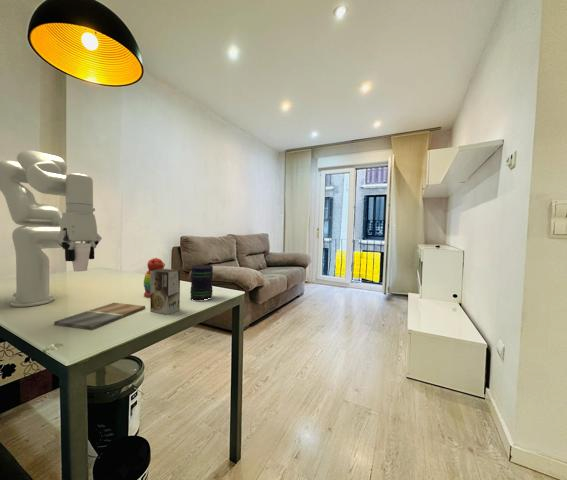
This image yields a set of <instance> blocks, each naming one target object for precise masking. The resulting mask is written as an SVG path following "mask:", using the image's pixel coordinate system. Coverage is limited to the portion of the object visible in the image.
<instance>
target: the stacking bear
mask: <svg viewBox="0 0 567 480" xmlns="http://www.w3.org/2000/svg"><path fill="white" fill-rule="evenodd" d="M146 265H147V268H148V270H147V271H146V272H145V274H144V278H143V287H144V293H143V296H144V297H145V298H148V299H150V271H152V270H157V269H162V268H163V269H165V266H166V264H165V263H164V262H163V261H162V259H160V258H157V257H154V258H151V259H149V260H148V261H147V264H146Z"/></svg>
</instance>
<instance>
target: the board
mask: <svg viewBox="0 0 567 480" xmlns="http://www.w3.org/2000/svg"><path fill="white" fill-rule="evenodd" d="M145 309H146V305H138V304H130V303H129V304H128V303H123V302H122V303H119V302H112V303H108V304H105V305H102V306H99V307H96V308H93V309H89V310H86V311H83V312H80V313H77V314H74V315H70V316H67V317H64V318H61V319H58V320H55V321H54V322H53V323H54V324H53V325H56V326H63V327H70V328H76V329H85V330H95V329H98V328H101V327H103V326H105V325H108V324H111V323H113V322H115V321H117V320H120V319H122V318H125V317H127V316H130V315H132V314H135V313H137V312H140V311H143V310H145Z"/></svg>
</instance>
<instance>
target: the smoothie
mask: <svg viewBox="0 0 567 480" xmlns="http://www.w3.org/2000/svg"><path fill="white" fill-rule="evenodd" d="M90 247H91V243H85V242H84V241H80V242H75V244H74V247H73V249H72V250H75V261H71V262H72V269H73V272H86V271H88V268H89V267H88V266H89V261H90V259H89V254H90Z"/></svg>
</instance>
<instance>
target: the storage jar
mask: <svg viewBox="0 0 567 480" xmlns="http://www.w3.org/2000/svg"><path fill="white" fill-rule="evenodd" d="M213 268H214V266H213V265H207V264H199V265H192V266H190V280H191V281H190V286H191V287H190V292H189V293H190V300H191V299H193V300H204V299H208V298H211V297H212V298H213V278H214V277H213V275H214V271H213V270H214V269H213Z"/></svg>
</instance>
